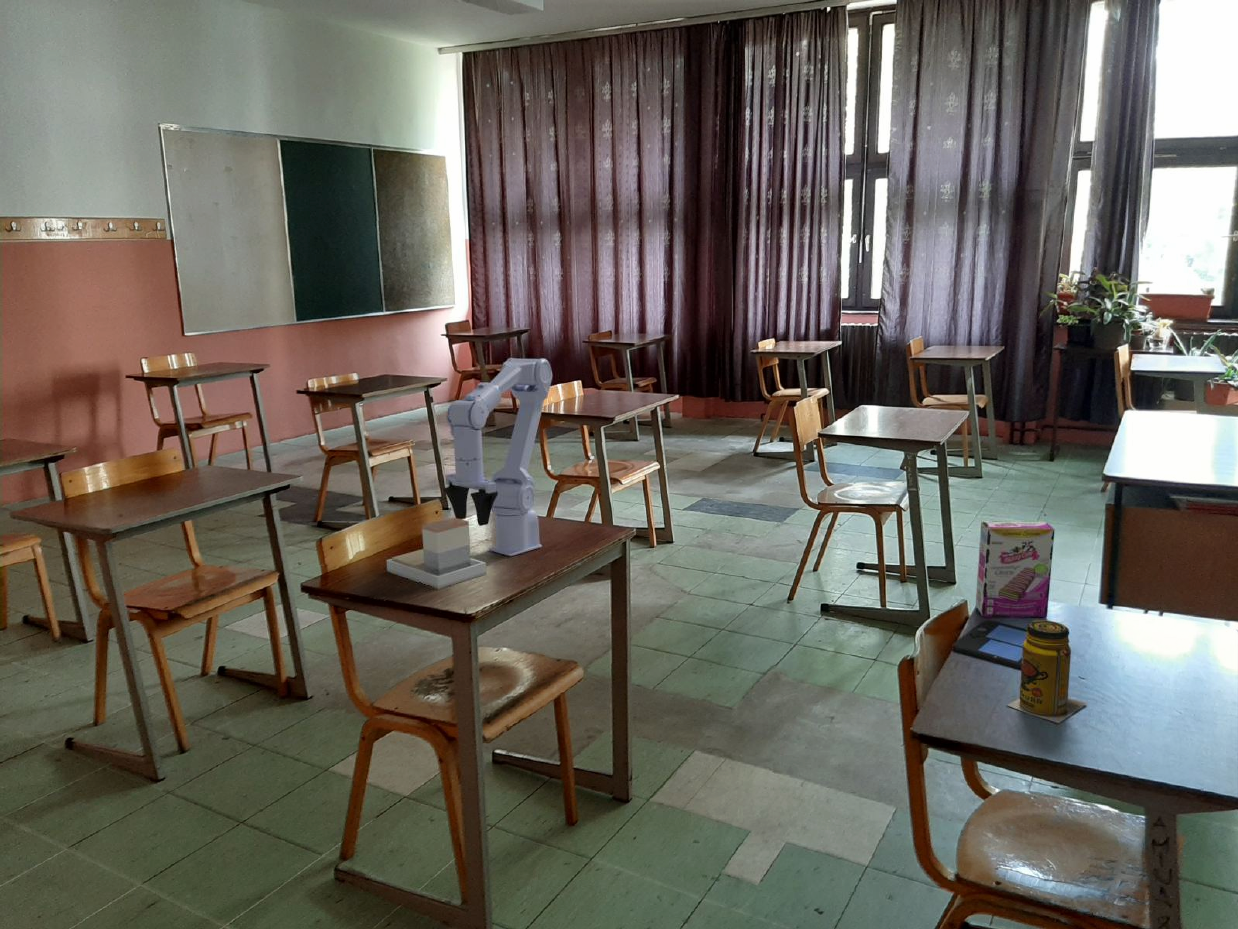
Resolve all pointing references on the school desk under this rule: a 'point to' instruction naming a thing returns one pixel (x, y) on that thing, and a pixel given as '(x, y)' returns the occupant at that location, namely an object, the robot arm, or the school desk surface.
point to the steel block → (447, 560)
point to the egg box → (445, 535)
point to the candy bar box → (1014, 568)
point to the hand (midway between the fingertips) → (472, 521)
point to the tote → (415, 570)
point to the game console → (994, 643)
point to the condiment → (1046, 673)
